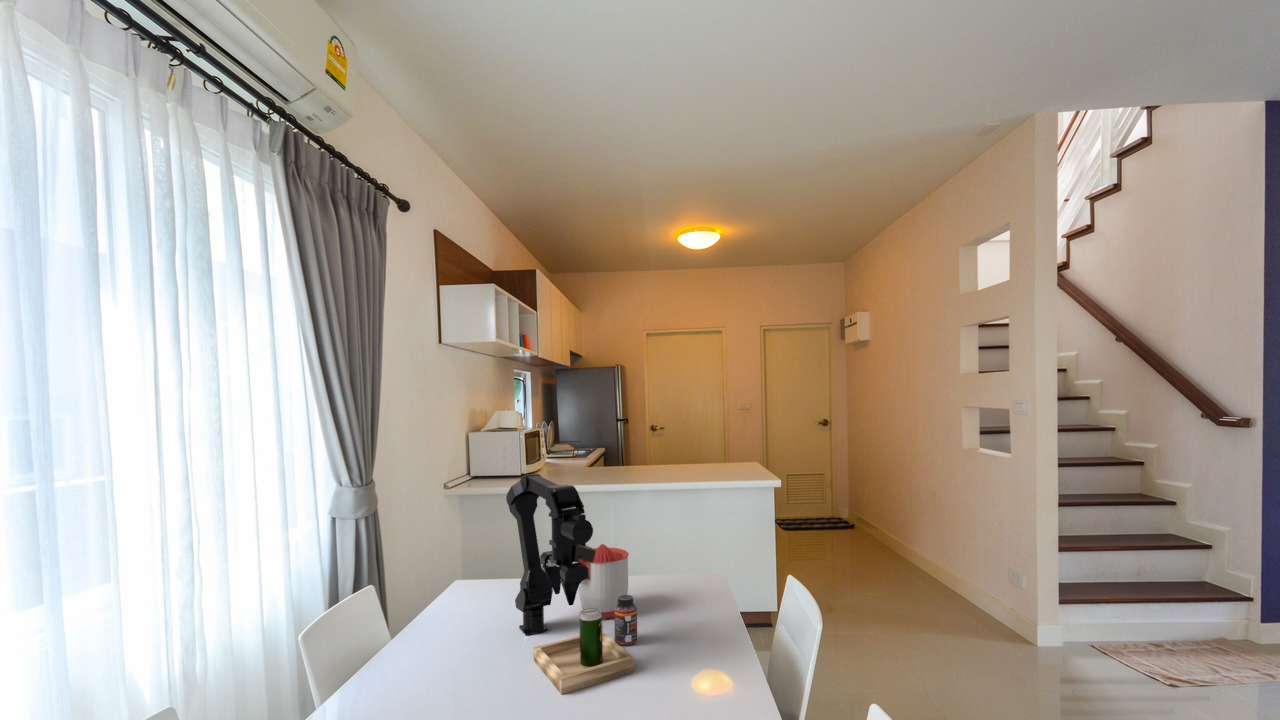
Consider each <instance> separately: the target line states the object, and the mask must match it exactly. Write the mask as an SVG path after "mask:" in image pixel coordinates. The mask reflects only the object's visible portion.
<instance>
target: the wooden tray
mask: <svg viewBox="0 0 1280 720" xmlns="http://www.w3.org/2000/svg"><path fill="white" fill-rule="evenodd" d="M602 642H603V662H602V664H601V665H597V666H594V667H590V668H587V669H584V668H582V666H581V664H580V635H577V636H573V637H568V638H565V639H561V640H557V641H553V642H549V643H546V644H542V645H537V646H535V647H533V661H534V663H535V664H536V665H537V666H538V667H539V669H540V670H541V672H542V673H543V674H544V675H545V677H546V678H547V679H548V680H549V681H550V683H552V685H553V686H554V687H555V688H556V690H557V691H558V692H559V693H560V695H564V694H568V693H571V692H575V691H577V690H581V689H584V688H587V687H590V686H594V685H597V684H599V683H603V682H606V680H607V681H610V680H613V679H615V678H619V677H622V676H625V675H629V674H632V673H634V672H635V657H634V656H633V655H631V653H629V652H628V651H626V649H624V648H623V646H621V645H619V644H617V643H616V642H615V640H613V639H612V638H611V637H610V636H608V635H607V634H606V633H605V632H603V631H602Z"/></svg>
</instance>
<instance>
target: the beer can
mask: <svg viewBox="0 0 1280 720" xmlns="http://www.w3.org/2000/svg"><path fill="white" fill-rule="evenodd" d="M578 620H579V622H578V624H579V626H578V627H579V636H580V664H581V666H582V668H584V669H587V668H590V667H594V666H597V665H601V664H602V662H603V642H602V632H603V620H602V614H601V610H600V609H597V608H587V609H583V608H582V610H581V611H580V612H579V619H578Z"/></svg>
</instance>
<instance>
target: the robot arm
mask: <svg viewBox="0 0 1280 720" xmlns="http://www.w3.org/2000/svg"><path fill="white" fill-rule="evenodd" d="M539 497H540V498H542V499H544V500H545V505H546V506H547V508H548V509H549V512H548V517H550V518H551V539H549V541H548V542H549V544H548V545H550V546H551V550H550V551H548V550H547V551H542V553H541V555H540V549H539V544H538V536H537V531H536V530H537V529H536V523H535V518H534V515H535V513H536V511H537V508H538V499H539ZM505 498H506V504H507V505H508V509H509V512H510V513H511V514H512V516H513V517H514V518H515V520H516V524H517V530H518V538H519V544H520V550H521V552H520V553H521V557H522V559H521V560H522V564H523V565H522V566H523V574H522V577H521V580H520V583H519V586H520V590H519V592H518V593H517V595H516V597H515V600H514V602H515V608H516V609H517V610H519V611H520V612H522V624H521V625H519V626H518V628H519V629H520V631H521V632H522V634H523V635H525V636H530V635H534V634H538V633H542V632H547V631H549V627H548V626H547V625H546V624H545V617H544V616H545V611H544V610H545V607H547V606H551V605H552V604H551V603H552V598H553V593H554V594H555V595H559V594H560V592H561V586H562V589H563V592H564V595H565V598H566V601H567V604H568V606H573V605H574V603H575V600H576V596H577V592H578V587H579V584H580V583H581V582H582V581H583V580H585V579H586V578H588V577H589V568H587V567H586V566H585V565H584V564H582V563H580V562H579V559H582V560H586V561H589V562H592V563H593V561H594V557H595V554H596V550H595V549H594V548H593V547H592V546H589V545H586V544H587V543H588V542H590V540H591V538H592V537H593V534H594V528H593V525H592V523H591V522H590V521H589V520H587V519H586V518H587V515H586V514H585V511H586V510H585V509H584V507H585V505H584V503H583V501H582V499H581V497H580V495H579V492H578V490H577V489H576V487H575V486H574V485H572V484H571V485H570V484H557V483H555V482H553V481H550V480H549V479H547V478H546V477H543V476H542V475H541V474H538V473H534V474H533V473H532V474H525V475H523V476H521V479H520V480H518V481H517V482H515V483H514V484H513V485H511V486H510V488H509V490H508V491H507V493H506V497H505ZM577 562H579V563H577Z"/></svg>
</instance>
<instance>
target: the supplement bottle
mask: <svg viewBox="0 0 1280 720" xmlns="http://www.w3.org/2000/svg"><path fill="white" fill-rule="evenodd" d="M614 615H615V617H614V642H616V643H617V644H618V645H619V646H622V647H623V646H625V647H628V646H633V645H635V644H636V643H637V642H638V608H637V605H636V604H635V603H634V597H633V595H631V594H627V595H621V596H619V597H618V604H617V605H616V606H615V610H614Z"/></svg>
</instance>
